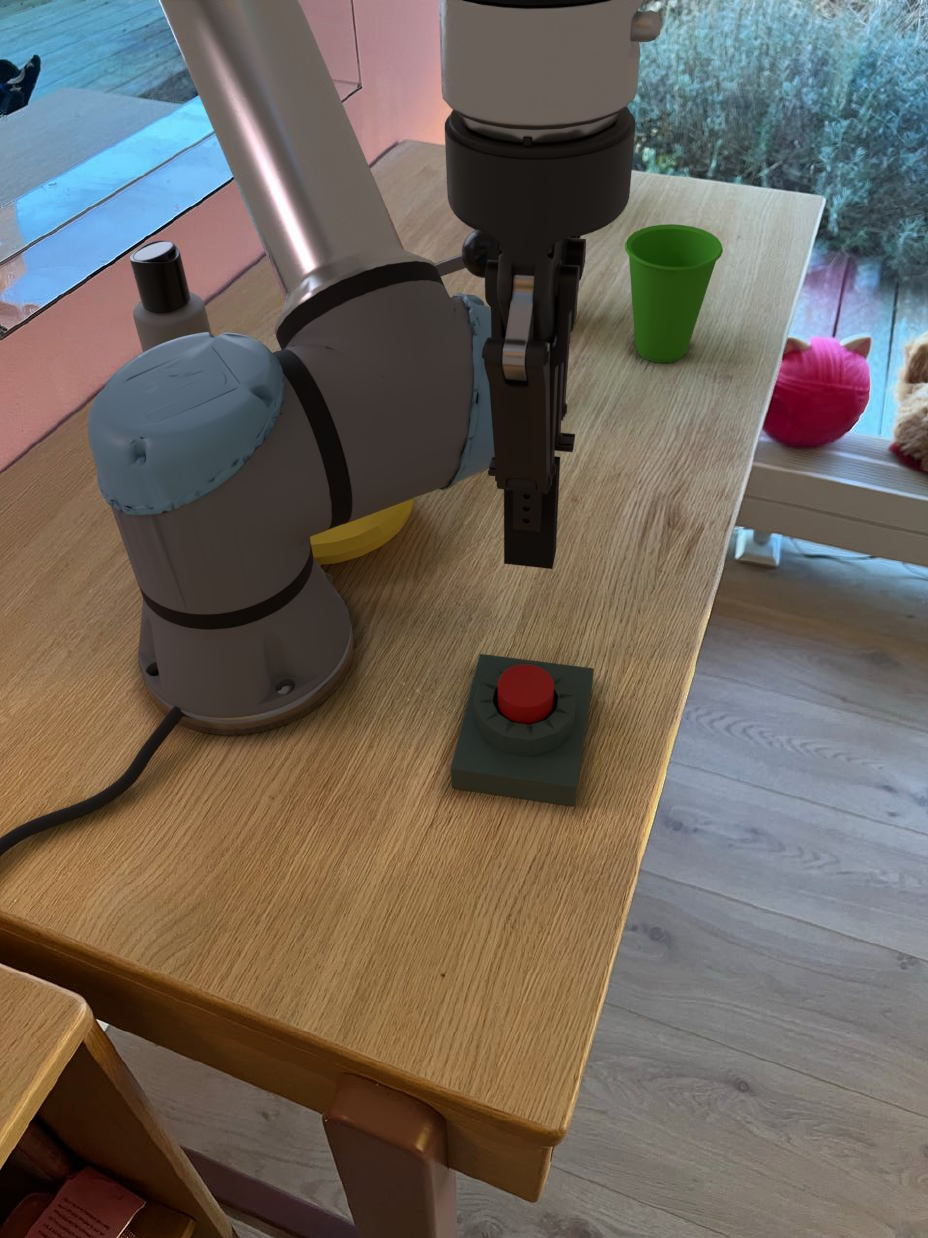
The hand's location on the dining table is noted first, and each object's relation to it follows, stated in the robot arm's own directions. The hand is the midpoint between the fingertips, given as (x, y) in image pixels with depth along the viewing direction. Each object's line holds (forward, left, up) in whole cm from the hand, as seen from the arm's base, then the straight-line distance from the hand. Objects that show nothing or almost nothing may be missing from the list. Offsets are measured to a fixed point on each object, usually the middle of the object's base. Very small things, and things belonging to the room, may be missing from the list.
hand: (530, 557), depth 56 cm
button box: (0, 0, -16) cm, 16 cm away
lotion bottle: (+26, +33, -17) cm, 45 cm away
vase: (+19, +20, -17) cm, 32 cm away
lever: (+33, +12, -2) cm, 35 cm away
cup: (+51, -6, -17) cm, 54 cm away
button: (0, 0, -13) cm, 13 cm away
